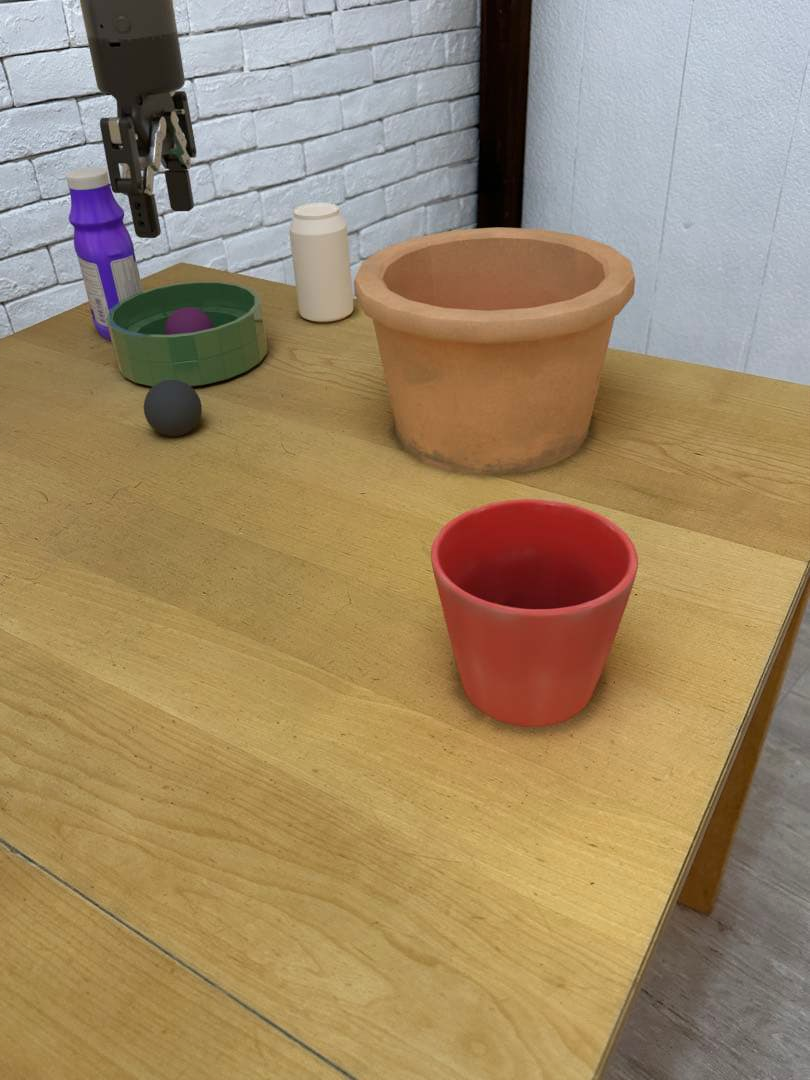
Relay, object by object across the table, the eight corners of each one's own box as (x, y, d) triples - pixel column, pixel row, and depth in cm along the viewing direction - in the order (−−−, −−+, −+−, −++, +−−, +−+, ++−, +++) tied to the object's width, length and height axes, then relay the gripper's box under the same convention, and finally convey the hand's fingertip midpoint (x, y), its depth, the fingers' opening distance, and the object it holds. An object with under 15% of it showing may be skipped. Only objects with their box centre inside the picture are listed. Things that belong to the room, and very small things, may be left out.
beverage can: (314, 332, 100) (301, 221, 93) (291, 315, 104) (277, 207, 97) (364, 319, 102) (355, 210, 95) (339, 303, 106) (329, 197, 99)
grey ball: (141, 445, 80) (128, 394, 77) (162, 419, 84) (151, 369, 81) (194, 448, 79) (183, 396, 76) (213, 421, 83) (204, 371, 80)
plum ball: (162, 364, 92) (152, 317, 89) (180, 345, 96) (171, 299, 93) (208, 366, 91) (200, 318, 89) (225, 346, 95) (217, 300, 93)
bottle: (160, 336, 100) (125, 172, 90) (111, 350, 98) (69, 182, 88) (137, 318, 106) (101, 160, 95) (89, 330, 103) (47, 170, 93)
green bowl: (95, 392, 90) (80, 335, 86) (155, 332, 102) (143, 280, 98) (242, 397, 87) (232, 338, 84) (285, 335, 99) (278, 281, 96)
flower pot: (483, 604, 60) (484, 478, 54) (645, 656, 55) (664, 524, 50) (402, 707, 53) (393, 574, 47) (581, 777, 48) (594, 639, 42)
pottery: (509, 356, 92) (512, 211, 83) (673, 440, 76) (696, 272, 68) (323, 419, 83) (305, 263, 74) (466, 528, 67) (464, 346, 59)
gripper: (125, 20, 83) (158, 202, 92) (50, 40, 72) (96, 245, 81) (202, 18, 82) (228, 203, 91) (139, 39, 70) (176, 247, 80)
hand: (166, 223), depth 86 cm, fingers open, 8 cm apart
